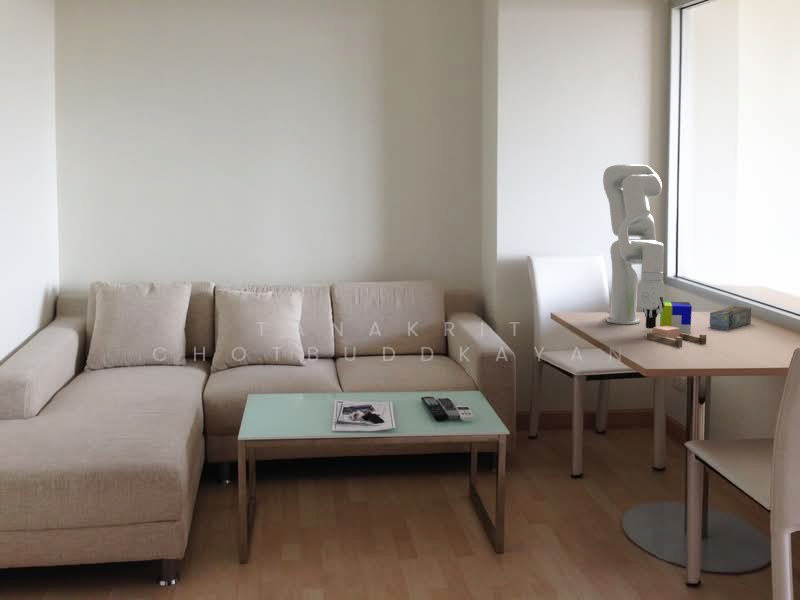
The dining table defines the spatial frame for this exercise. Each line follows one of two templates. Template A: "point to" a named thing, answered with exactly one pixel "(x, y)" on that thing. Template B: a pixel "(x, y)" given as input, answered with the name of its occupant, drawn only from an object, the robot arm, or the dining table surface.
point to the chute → (678, 338)
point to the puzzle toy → (677, 316)
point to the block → (667, 331)
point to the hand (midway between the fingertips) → (650, 328)
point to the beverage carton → (730, 318)
